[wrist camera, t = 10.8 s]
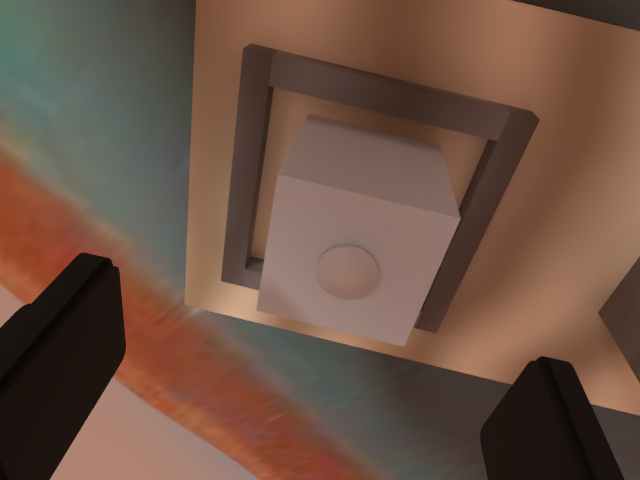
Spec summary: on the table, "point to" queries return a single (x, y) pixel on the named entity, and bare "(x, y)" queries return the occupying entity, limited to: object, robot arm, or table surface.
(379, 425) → the table surface
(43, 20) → the table surface
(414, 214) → the block
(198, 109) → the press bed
